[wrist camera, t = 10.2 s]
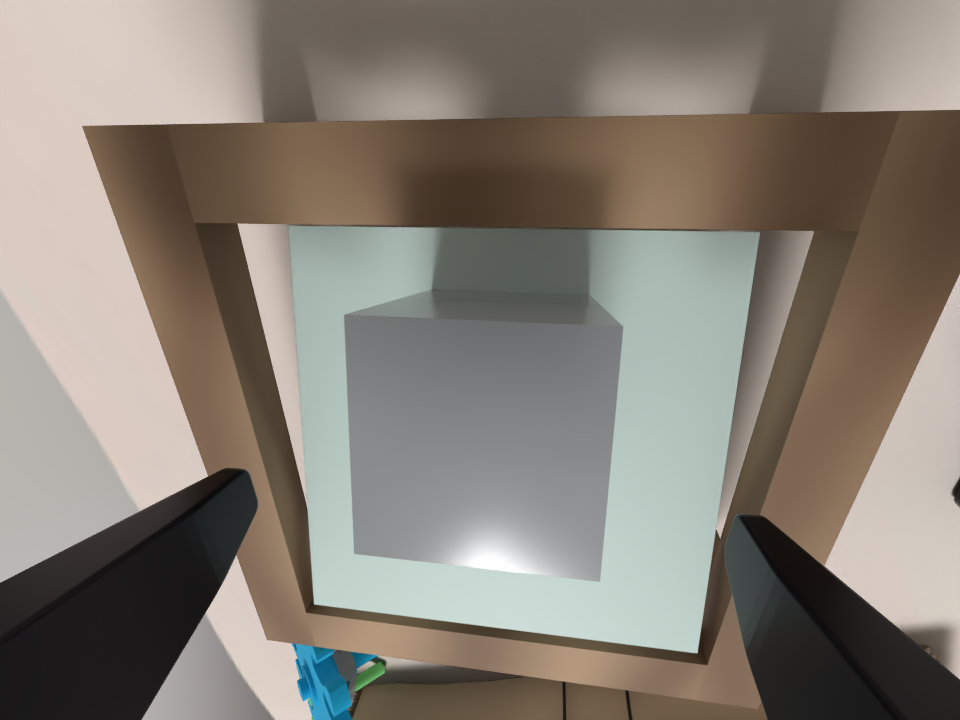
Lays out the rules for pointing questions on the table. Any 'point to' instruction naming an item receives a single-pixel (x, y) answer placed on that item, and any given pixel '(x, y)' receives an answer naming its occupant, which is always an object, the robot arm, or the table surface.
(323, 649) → the gear
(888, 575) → the table surface
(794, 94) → the table surface
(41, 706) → the robot arm
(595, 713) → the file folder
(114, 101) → the table surface
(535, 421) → the stone block
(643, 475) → the trapdoor
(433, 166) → the frame
